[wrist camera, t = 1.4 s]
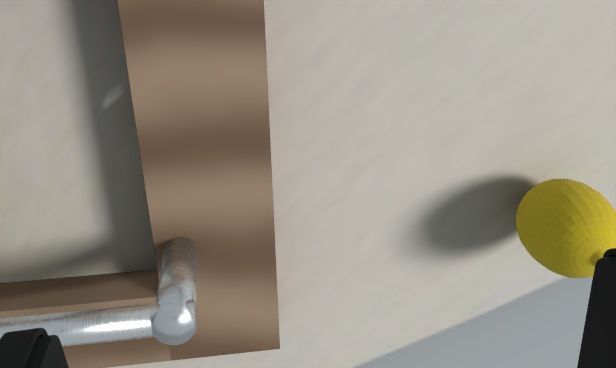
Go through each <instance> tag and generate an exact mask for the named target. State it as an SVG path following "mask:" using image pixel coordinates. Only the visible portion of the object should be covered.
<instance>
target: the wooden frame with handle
mask: <svg viewBox="0 0 616 368" xmlns="http://www.w3.org/2000/svg"><path fill="white" fill-rule="evenodd" d="M117 2H118V9H119V15H120V22H121V29H122V35H123V42H124V49H125V56H126V62H127V69H128V76H129V82H130V89H131V96H132V102H133V109H134V116H135V122H136V129H137V136H138V142H139V149H140V156H141V163H142V169H143V176H144V183H145V189H146V196H147V203H148V209H149V216H150V223H151V229H152V236H153V243H154V249H155V256H156V263H157V270H148V271H137V272H126V273H115V274H104V275H93V276H81V277H70V278H59V279H48V280H37V281H26V282H15V283H4V284H0V318H10V317H20V316H30V315H41V314H51V313H61V312H72V311H82V310H92V309H103V308H113V307H124V306H134V305H144V304H155V303H156V299H157V292H158V286H159V279H160V273H161V266H162V259H163V253H164V248H165V245H166V244H167V243H168V242H169V241H170V240H171V239H173V238H177V237H186V238H189V239H191V240H193V241H194V242H195V243H196V245H197V246H198V250H199V256H198V276H197V296H196V314H197V332H196V333H194V334H193V336H192V337H191V338H190V339H189V340H188V341H187V342H185V343H182V344H179V345H167V344H164V343H162V342H160V341H159V340H157V339H156V338H155V337H150V338H140V339H131V340H121V341H111V342H102V343H92V344H82V345H72V346H63V347H62V348H63V351H64V354H65V357H66V360H67V363H68V367H69V368H106V367H115V366H125V365H134V364H143V363H152V362H162V361H171V360H180V359H189V358H199V357H208V356H217V355H226V354H236V353H245V352H254V351H263V350H272V349H280V340H279V319H278V297H277V276H276V255H275V233H274V212H273V191H272V169H271V148H270V126H269V105H268V84H267V62H266V41H265V20H264V0H117Z"/></svg>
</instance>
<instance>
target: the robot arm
mask: <svg viewBox="0 0 616 368" xmlns="http://www.w3.org/2000/svg"><path fill="white" fill-rule="evenodd" d="M0 368H69V367H68V363H67V360H66V357H65V354H64V351H63V348H62V345H61V342H60V339H59V337H58V336H57V335H49V336H48V334H47V331H46V330H45V329H44V328H34V329H27V330H19V331H12V332H6V333H5V334H3V336H2V337H1V338H0ZM577 368H616V248H612V249H609V250H607V251H606V252H605V253H604V255H603V258H601V259H598V261H597V262H596V265H595V269H594V275H593V280H592V286H591V292H590V298H589V303H588V309H587V315H586V321H585V326H584V333H583V338H582V344H581V349H580V355H579V361H578V366H577Z"/></svg>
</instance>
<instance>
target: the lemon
mask: <svg viewBox="0 0 616 368" xmlns="http://www.w3.org/2000/svg"><path fill="white" fill-rule="evenodd" d="M516 229H517V232H518V235H519V238H520V240H521V242H522V244H523V245H524V247H525V248H526V250H527V251H528V252H529V254H530V255H531V256H532V257H533V258H534V259H535V260H536V261H538V262H539V263H540V264H542V265H543V266H545V267H546V268H548V269H549V270H551V271H553V272H555V273H557V274H560V275H563V276H566V277H570V278H586V277H591V276H593V275H594V269H595V265H596V262H597V261H598V259H601V258H603V255H604V253H605V252H606V251H607V250H609V249H612V248H616V211H615V210H614V208H613V207H612V206H611V205H610V203H609V202H608V201H607V200H606V199H605V198H604V197H603V196H602V195H601V194H600V193H599V192H597V191H596V190H594V189H592V188H591V187H589V186H587V185H585V184H583V183H581V182H577V181H573V180H569V179H552V180H548V181H545V182H542V183H540V184H538V185H536V186H534V187H533V188H532V189H530V190H529V191H528V192H527V193H526V194H525V196H524V197H523V198H522V200H521V202H520V204H519V206H518V209H517V213H516Z"/></svg>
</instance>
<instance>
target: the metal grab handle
mask: <svg viewBox="0 0 616 368" xmlns="http://www.w3.org/2000/svg"><path fill="white" fill-rule="evenodd" d="M198 256H199V250H198V246H197V245H196V243H195V242H194V241H193V240H191V239H189V238H186V237H177V238H173V239H171V240H170V241H169V242H168V243H167V244H166V245H165V248H164V253H163V259H162V266H161V273H160V279H159V286H158V292H157V299H156V303H155V304H144V305H134V306H124V307H113V308H103V309H92V310H82V311H72V312H61V313H51V314H41V315H30V316H20V317H10V318H0V338H1V337H2V336H3V334H5V333H6V332H12V331H19V330H27V329H34V328H44V329H45V330H46V331H47V334H48V336H49V335H57V336H58V337H59V339H60V342H61V345H62V347H63V346H72V345H82V344H92V343H102V342H111V341H121V340H131V339H140V338H150V337H155V338H156V339H157V340H159V341H160V342H162V343H164V344H167V345H179V344H182V343H185V342H187V341H188V340H189V339H190V338H191V337H192V336H193V334H194V333H196V332H197V314H196V296H197V276H198Z"/></svg>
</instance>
